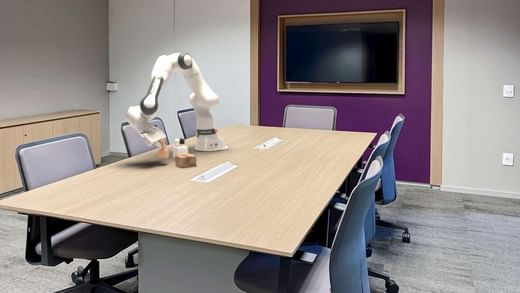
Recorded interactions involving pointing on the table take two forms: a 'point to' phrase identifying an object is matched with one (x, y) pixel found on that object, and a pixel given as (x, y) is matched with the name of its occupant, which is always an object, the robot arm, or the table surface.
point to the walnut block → (185, 160)
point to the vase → (163, 150)
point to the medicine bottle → (179, 147)
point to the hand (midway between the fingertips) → (163, 147)
